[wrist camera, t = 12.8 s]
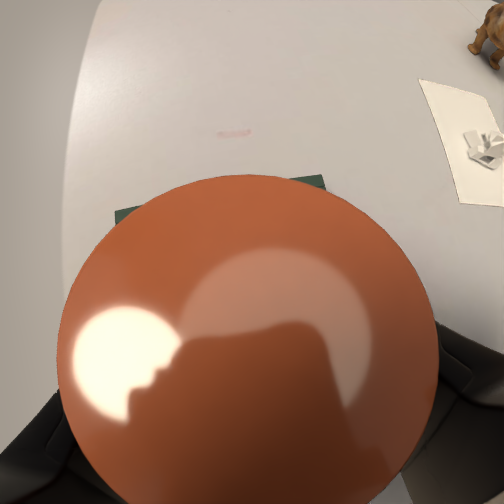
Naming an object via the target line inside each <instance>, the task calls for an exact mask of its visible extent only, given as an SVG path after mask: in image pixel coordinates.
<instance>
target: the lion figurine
mask: <svg viewBox="0 0 504 504" xmlns="http://www.w3.org/2000/svg"><path fill="white" fill-rule="evenodd" d="M476 32H477V33H478V34H477V36H476V39H475V41H474V43H473V44H469V45H468V49H469V50H470V51H471V52H472V53H473V54H475V55H477V54H478V53H479V52H480V51H481V48H482V45H483V43H484V41H485V40H486V39H487V38H490V40H491V41H492V42H493V43H494V44H495V45H496V46H497V47H498V50H497V51H496V52H494V53H493V54H492V55H491V56H490V61H489V62H490V65H491V66H492V67H493V68H495V69H498V70H499V69H500V66H499V64H498V63H499V61H500V59H501V58H502V57H503V56H504V2H503V3H501V4H496V5H494V6H492V7H491V8H490V9H489V10H488V12H487V14H486V18H485V20H484V24H483V25H482V26H481V27H480V29H477V30H476Z"/></svg>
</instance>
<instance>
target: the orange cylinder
mask: <svg viewBox="0 0 504 504" xmlns="http://www.w3.org/2000/svg"><path fill="white" fill-rule="evenodd" d="M438 371H439V347H438V335H437V330H436V325H435V320H434V315H433V311H432V308H431V305H430V302H429V299H428V296H427V294H426V291H425V288H424V286H423V284H422V282H421V280H420V278H419V276H418V274H417V272H416V270H415V268H414V267H413V265H412V264H411V262H410V261H409V259H408V258H407V257H406V255H405V254H404V252H403V251H402V249H401V248H400V247H399V246H398V244H397V243H396V242H395V241H394V240H393V239H392V238H391V237H390V235H389V234H388V233H387V232H386V231H385V230H384V229H383V228H382V227H381V226H379V225H378V224H377V223H376V222H375V221H374V220H373V219H371V218H370V217H369V216H368V215H367V214H365V213H364V212H362V211H361V210H359V209H358V208H356V207H355V206H353V205H352V204H350V203H349V202H347V201H346V200H344V199H342V198H340V197H338V196H336V195H334V194H332V193H330V192H327V191H325V190H323V189H321V188H318V187H315V186H312V185H309V184H306V183H303V182H300V181H296V180H291V179H286V178H281V177H276V176H265V175H251V174H248V175H229V176H220V177H215V178H209V179H204V180H199V181H196V182H193V183H190V184H186V185H183V186H180V187H177V188H175V189H172V190H170V191H168V192H166V193H164V194H162V195H159V196H157V197H155V198H153V199H152V200H150V201H148V202H147V203H145V204H144V205H142V206H140V207H139V208H137V209H136V210H134V211H133V212H131V213H130V214H129V215H128V216H126V217H125V218H124V219H123V220H122V221H121V222H119V223H118V224H117V225H116V226H115V227H113V228H112V229H111V231H110V232H109V233H108V234H107V235H106V236H105V237H104V238H103V239H102V240H101V241H100V243H99V244H98V245H97V246H96V247H95V249H94V250H93V251H92V253H91V254H90V256H89V257H88V259H87V260H86V262H85V263H84V265H83V266H82V268H81V270H80V272H79V274H78V275H77V277H76V279H75V281H74V283H73V285H72V287H71V290H70V293H69V295H68V298H67V301H66V304H65V307H64V310H63V314H62V318H61V323H60V328H59V333H58V343H57V374H58V385H59V390H60V395H61V400H62V404H63V408H64V411H65V414H66V417H67V420H68V423H69V425H70V428H71V431H72V433H73V435H74V437H75V439H76V441H77V443H78V444H79V446H80V448H81V450H82V452H83V454H84V455H85V457H86V458H87V459H88V461H89V462H90V464H91V465H92V467H93V468H94V469H95V471H96V472H97V473H98V474H99V476H100V477H101V478H102V479H103V480H104V481H105V482H106V483H107V484H108V485H109V487H110V488H111V489H112V490H113V491H114V492H115V493H117V494H118V495H119V496H120V497H121V498H123V499H124V500H125V501H126V502H127V503H129V504H368V503H369V502H370V501H371V500H372V499H374V498H375V497H376V496H377V495H378V494H379V493H381V492H382V491H383V490H384V489H385V488H386V487H387V486H388V485H389V483H390V482H391V481H392V480H393V479H394V478H395V477H396V476H397V474H398V473H399V472H400V471H401V470H402V468H403V467H404V465H405V464H406V462H407V461H408V459H409V458H410V456H411V455H412V453H413V452H414V450H415V448H416V446H417V444H418V442H419V441H420V439H421V437H422V435H423V433H424V430H425V428H426V425H427V422H428V420H429V417H430V414H431V411H432V408H433V404H434V399H435V394H436V389H437V384H438Z"/></svg>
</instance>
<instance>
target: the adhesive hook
mask: <svg viewBox="0 0 504 504" xmlns="http://www.w3.org/2000/svg"><path fill="white" fill-rule="evenodd" d="M462 134H463V135H464V137H465V139H466V141H467V143H468V145H469V146H470V147H469V148H468V149H467V152H468V155H469V157H470V158H471V159H473V160H476V161H477V162H479V163H481V164H483V165H485V166H486V167H488V168H490V169H494V170H496V169H497V168H498V167H500V166H501V165H502V164H503V162H504V134H503V133H500V132H499V131H496V130H492V129H491V130H490V132H489V131H488V130H486V129H478V128H475V129H471V130H468V131H464V132H463V133H462Z"/></svg>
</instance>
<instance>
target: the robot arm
mask: <svg viewBox="0 0 504 504" xmlns="http://www.w3.org/2000/svg"><path fill="white" fill-rule="evenodd" d="M435 325H436V330H437V335H438V347H439V371H438V384H437V389H436V394H435V399H434V404H433V408H432V411H431V414H430V417H429V420H428V422H427V425H426V428H425V430H424V433H423V435H422V437H421V439H420V441H419V442H418V444H417V446H416V448H415V450H414V452H413V453H412V455H411V456H410V458H409V459H408V461H407V462H406V464H405V465H404V467H403V468H402V470H401V471H400V472H401V473H402V474H401V475H402V477H403V480H404V482H405V485H406V487H407V489H408V492H409V494H410V497H411V499H412V502H413V504H504V355H503V354H501V353H499V352H497V351H494V350H492V349H490V348H488V347H485V346H483V345H481V344H479V343H477V342H475V341H473V340H471V339H468V338H466V337H464V336H463V335H461V334H459V333H457V332H455V331H453V330H451V329H449V328H448V327H446V326H444V325H442V324H441V325H440V324H439V323H438V322H436V321H435ZM0 504H129V503H127V502H126V501H125V500H124V499H123V498H121V497H120V496H119V495H118V494H117V493H115V492H114V491H113V490H112V489H111V488H110V487H109V485H108V484H107V483H106V482H105V481H104V480H103V479H102V478H101V477H100V476H99V474H98V473H97V472H96V471H95V469H94V468H93V467H92V465H91V464H90V462H89V461H88V459H87V458H86V457H85V455H84V454H83V452H82V450H81V448H80V446H79V444H78V443H77V441H76V439H75V437H74V435H73V433H72V431H71V428H70V425H69V423H68V420H67V417H66V414H65V411H64V408H63V404H62V400H61V395H60V390H59V389H58V390H57V393H55V394H54V395H53V396H52V397H51V398H50V400H49V401H48V402H47V403H46V405H45V406H44V407H43V408H42V409H41V410H40V412H39V413H38V414H37V416H35V417H34V418H33V420H32V421H31V422H30V423H29V424H28V425H27V426H26V427H25V428H24V429H23V430H22V431H21V433H20V434H19V435H18V436H17V437H16V438H15V439H14V440H13V441H12V442H11V443H10V444H9V445H8V446H7V448H6V449H5V450H4V451H3V452H2V453H1V454H0Z"/></svg>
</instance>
